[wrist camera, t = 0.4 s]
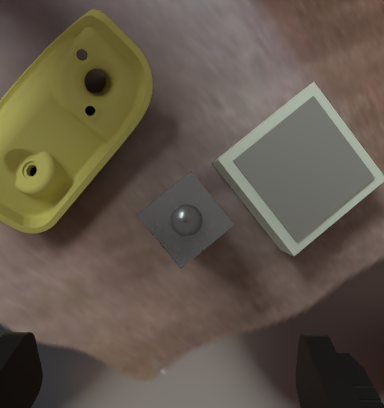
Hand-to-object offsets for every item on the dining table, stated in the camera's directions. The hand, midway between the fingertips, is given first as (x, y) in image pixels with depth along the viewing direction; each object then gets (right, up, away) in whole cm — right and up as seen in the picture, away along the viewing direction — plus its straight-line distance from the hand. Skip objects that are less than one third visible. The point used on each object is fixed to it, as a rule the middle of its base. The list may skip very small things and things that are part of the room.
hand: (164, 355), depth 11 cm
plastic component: (-12, +12, +26) cm, 31 cm away
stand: (+11, +8, +27) cm, 31 cm away
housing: (0, +4, +27) cm, 27 cm away
